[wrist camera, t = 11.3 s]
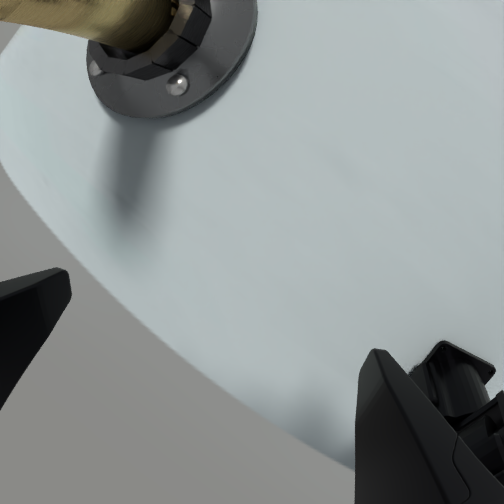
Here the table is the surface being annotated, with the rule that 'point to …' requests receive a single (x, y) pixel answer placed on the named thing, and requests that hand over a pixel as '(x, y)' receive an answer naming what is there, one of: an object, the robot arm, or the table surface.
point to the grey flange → (175, 60)
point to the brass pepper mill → (97, 19)
